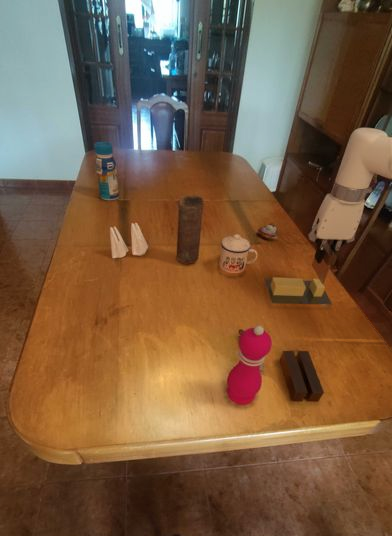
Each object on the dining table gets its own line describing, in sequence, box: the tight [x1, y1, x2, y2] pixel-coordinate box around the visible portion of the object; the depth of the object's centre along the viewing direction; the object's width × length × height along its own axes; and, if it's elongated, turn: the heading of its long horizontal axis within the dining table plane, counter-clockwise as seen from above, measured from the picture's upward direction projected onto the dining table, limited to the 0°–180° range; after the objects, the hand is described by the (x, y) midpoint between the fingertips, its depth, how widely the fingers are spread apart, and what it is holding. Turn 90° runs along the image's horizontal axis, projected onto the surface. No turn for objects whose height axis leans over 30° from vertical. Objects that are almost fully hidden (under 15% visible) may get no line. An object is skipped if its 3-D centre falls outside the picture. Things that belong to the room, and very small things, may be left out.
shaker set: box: [109, 222, 149, 259], centre depth 102 cm, size 12×4×11 cm, turn 99°
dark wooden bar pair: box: [279, 350, 324, 403], centre depth 72 cm, size 6×12×4 cm, turn 2°
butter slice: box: [309, 278, 326, 297], centre depth 95 cm, size 2×5×3 cm, turn 2°
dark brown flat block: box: [311, 242, 338, 284], centre depth 88 cm, size 2×10×8 cm, turn 2°
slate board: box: [264, 278, 333, 306], centre depth 96 cm, size 18×12×1 cm, turn 92°
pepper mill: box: [226, 324, 273, 406], centre depth 63 cm, size 7×7×20 cm
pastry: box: [257, 222, 279, 241], centre depth 120 cm, size 8×8×5 cm
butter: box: [270, 276, 306, 296], centre depth 94 cm, size 9×5×3 cm, turn 92°
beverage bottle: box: [93, 141, 120, 201], centre depth 130 cm, size 8×8×20 cm
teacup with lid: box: [218, 233, 258, 274], centre depth 100 cm, size 12×9×12 cm
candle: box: [175, 194, 205, 264], centre depth 99 cm, size 8×7×20 cm
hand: (322, 260), depth 88 cm, fingers closed on dark brown flat block, 2 cm apart
